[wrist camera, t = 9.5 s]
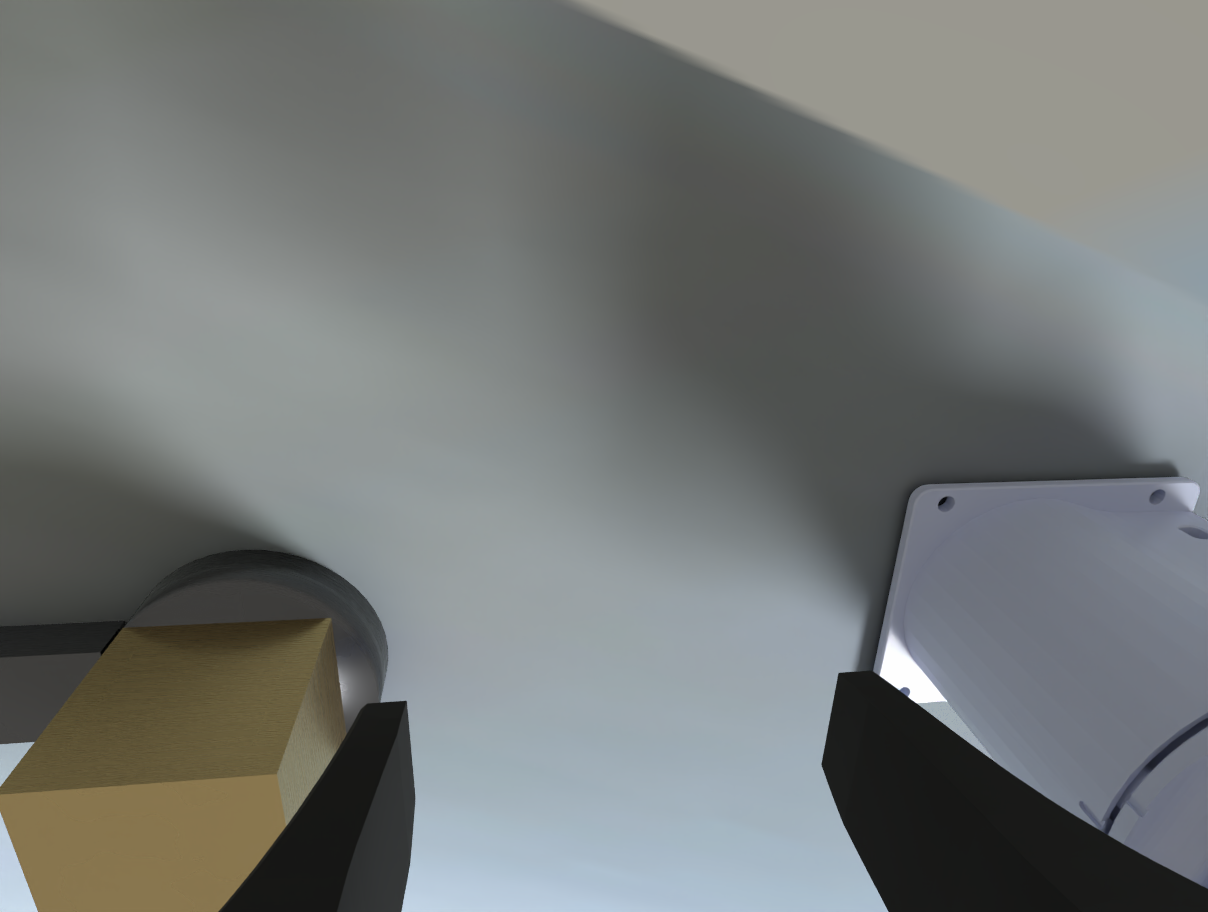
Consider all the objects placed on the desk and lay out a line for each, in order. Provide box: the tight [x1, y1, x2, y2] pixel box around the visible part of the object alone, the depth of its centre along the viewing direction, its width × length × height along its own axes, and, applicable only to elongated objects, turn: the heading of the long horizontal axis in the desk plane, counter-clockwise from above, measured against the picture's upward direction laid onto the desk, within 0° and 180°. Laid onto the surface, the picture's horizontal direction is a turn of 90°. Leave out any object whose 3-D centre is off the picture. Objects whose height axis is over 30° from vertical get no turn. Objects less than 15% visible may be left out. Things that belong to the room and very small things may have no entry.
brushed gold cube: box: [0, 618, 346, 912], centre depth 17 cm, size 5×5×5 cm
